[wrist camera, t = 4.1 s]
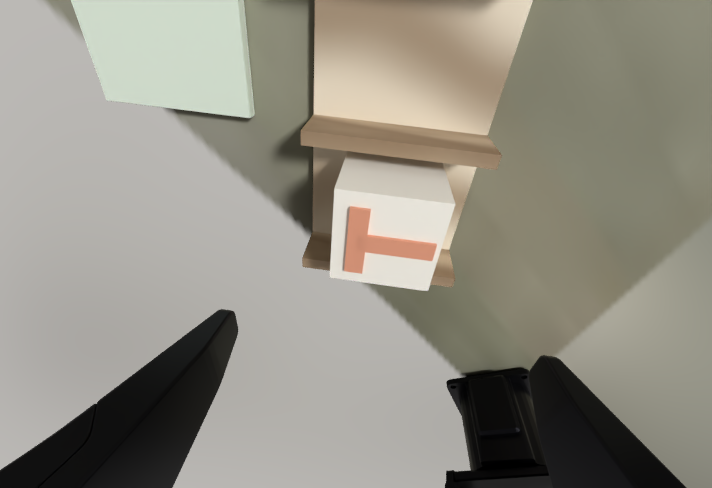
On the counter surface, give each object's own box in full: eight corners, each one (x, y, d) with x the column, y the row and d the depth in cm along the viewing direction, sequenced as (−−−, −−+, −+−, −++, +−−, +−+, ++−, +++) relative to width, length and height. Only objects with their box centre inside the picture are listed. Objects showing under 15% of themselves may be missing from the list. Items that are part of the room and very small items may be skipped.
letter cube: (421, 235, 18) (428, 293, 14) (342, 224, 18) (328, 280, 14) (441, 158, 15) (456, 206, 11) (348, 147, 15) (333, 190, 12)
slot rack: (445, 252, 19) (452, 287, 17) (314, 235, 19) (302, 266, 17) (685, -478, 7) (840, -739, 4) (324, -502, 7) (287, -764, 5)
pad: (254, 114, 15) (250, 118, 15) (115, 97, 16) (106, 100, 15) (234, -91, 11) (227, -95, 11) (45, -111, 11) (29, -116, 11)
